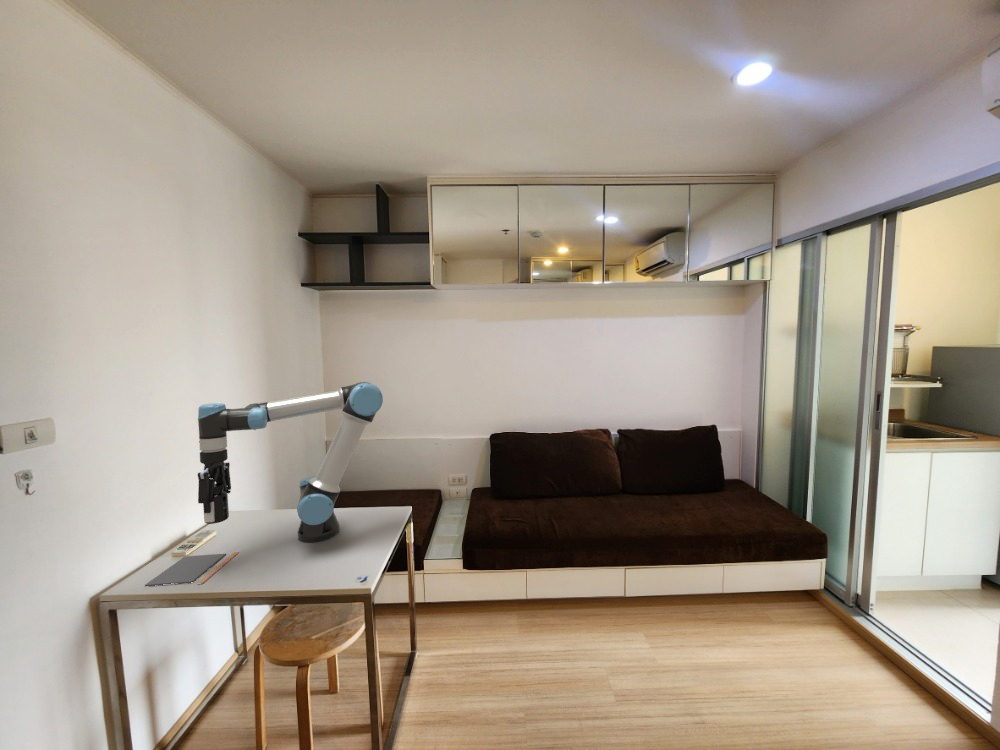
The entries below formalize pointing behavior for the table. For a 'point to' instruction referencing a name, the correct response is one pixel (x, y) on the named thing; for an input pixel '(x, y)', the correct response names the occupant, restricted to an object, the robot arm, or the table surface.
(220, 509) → the supplement bottle
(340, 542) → the table surface
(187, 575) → the mat
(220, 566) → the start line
